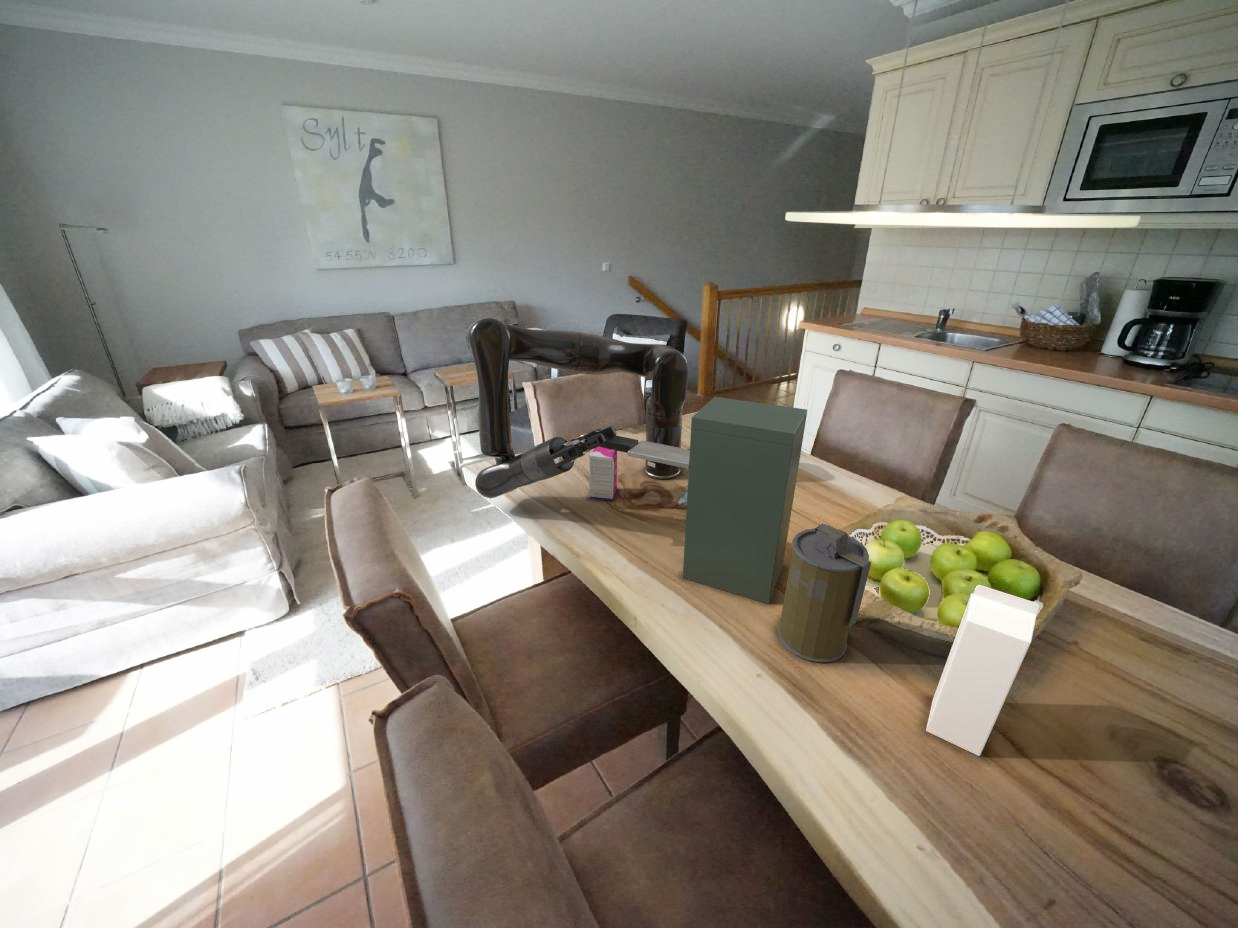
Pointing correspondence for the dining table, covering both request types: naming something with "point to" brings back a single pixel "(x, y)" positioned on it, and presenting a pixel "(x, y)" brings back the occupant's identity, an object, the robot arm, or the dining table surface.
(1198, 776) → the dining table surface
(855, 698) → the dining table surface
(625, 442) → the long-handled flat paddle
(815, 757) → the dining table surface
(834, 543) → the canister
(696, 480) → the tall green lidded box
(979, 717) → the milk
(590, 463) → the supplement box
